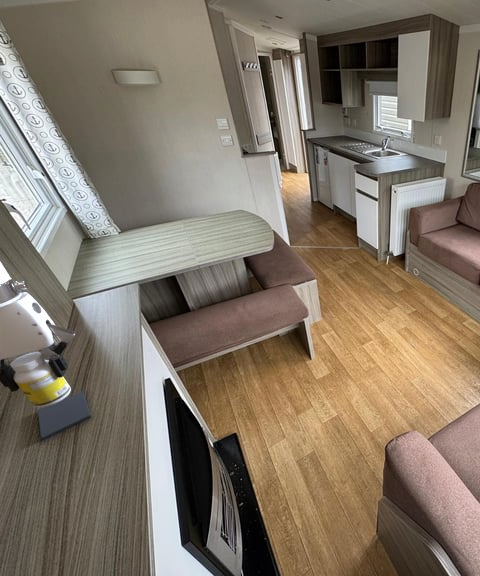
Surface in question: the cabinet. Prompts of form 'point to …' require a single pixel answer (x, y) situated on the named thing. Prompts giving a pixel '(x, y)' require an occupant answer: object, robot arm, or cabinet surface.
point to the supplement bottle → (39, 380)
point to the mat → (63, 415)
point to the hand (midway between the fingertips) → (40, 379)
